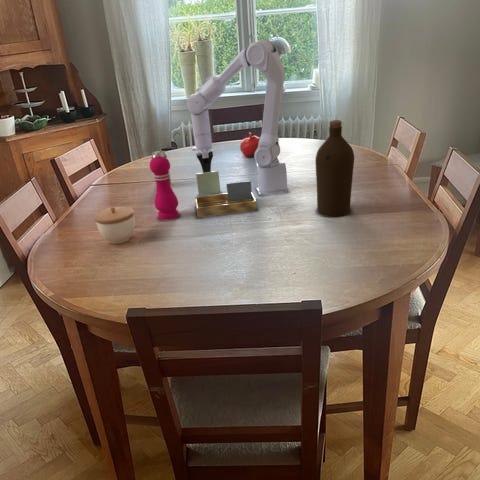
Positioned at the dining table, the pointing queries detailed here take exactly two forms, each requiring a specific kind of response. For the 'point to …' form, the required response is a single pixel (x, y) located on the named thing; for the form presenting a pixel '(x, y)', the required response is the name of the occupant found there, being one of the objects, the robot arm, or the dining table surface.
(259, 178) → the robot arm
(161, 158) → the pepper mill
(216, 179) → the sage coaster
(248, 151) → the pomegranate
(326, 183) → the olive oil
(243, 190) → the blue coaster
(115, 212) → the trinket box
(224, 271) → the dining table surface
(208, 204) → the coaster basket
